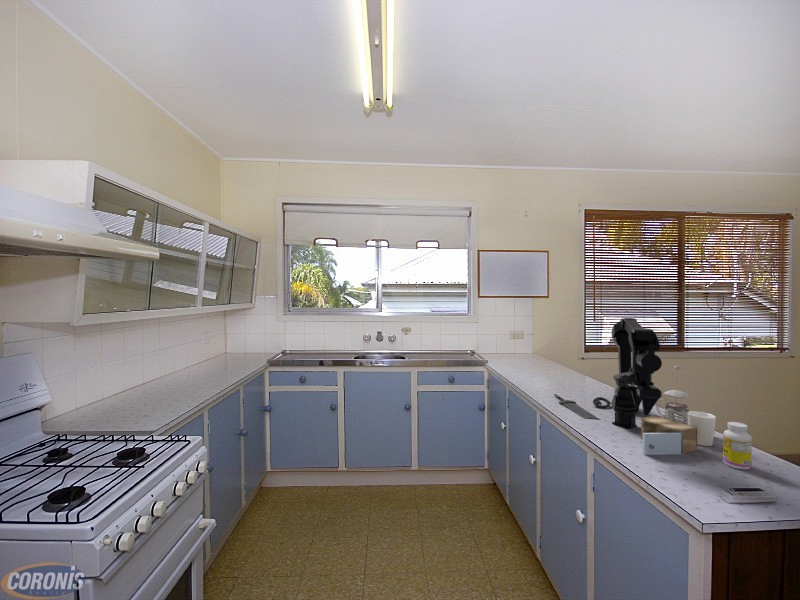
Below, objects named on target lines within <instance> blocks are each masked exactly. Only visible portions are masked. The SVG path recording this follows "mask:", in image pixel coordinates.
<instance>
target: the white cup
mask: <svg viewBox="0 0 800 600" xmlns="http://www.w3.org/2000/svg"><path fill="white" fill-rule="evenodd" d="M687 414H688V425H691V426H694V427H697V446H703V447H712V446H713V445H714V438H715V431H716V416H715V415H714V414H711V413H708V412H703V411H695V410H694V411H693V410H689V412H688V413H687Z"/></svg>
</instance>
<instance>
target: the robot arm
mask: <svg viewBox="0 0 800 600" xmlns="http://www.w3.org/2000/svg"><path fill="white" fill-rule="evenodd" d="M611 338H612V339H613V343H614V344H615V346H616V347H617V351H618V352H617V355H618V357H617V358H618V374H614V375H612V377H613V380H615V383H616V385H618V387H617V388H616V390H615V395H614V394H613V397H612V399H611V403H612V404H611V409H613V412H614V421H613V422H612V423H611V424H612V425H615V426H617V427H621V428H623V429H632V428H636V427H637V426H638V424H636V421H637V420H636V415H635V414H636V413H639V409H640V406H641V407H642V412H643V416H646V417H649V415H650V413H651V411H652V410H653V408H654V406H656V403H657V401H658V399H660V398H661V399H663V398H662V397H663V393H662V390H661V389H660V388H658V387H656V386H654V384H655V383H654V382H653V379H652V377H653V374H655V372H657V371H659V370H660V369H662V366H663V362H662V359H661V358H660V357H659V356H658V355H656V352H660V351H661V349H660V348H661V344H660V341H659V338H658V336H657V333H656V332H655V331H654V330H653V329H652V328H645V327H643V326H642V325H641V324H640V323H639V322H638V321H637V318H633V317H623V318H621V319H620V320H619V321H618V322H617V323H615V324H613V326H612V329H611ZM661 399H660V400H661ZM658 402H659V401H658ZM616 405H617V406H616ZM635 412H636V413H635Z"/></svg>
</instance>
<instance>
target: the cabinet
mask: <svg viewBox="0 0 800 600" xmlns="http://www.w3.org/2000/svg"><path fill="white" fill-rule="evenodd" d="M640 423H641V425H640V428H641V429H640V434H641V435H640V440H642V441H643V433H680V432H683V454H682V455H684V454H688V453H690V452H694V451H697V450H698V445H697V427H694V426H691V425H687V424H684V423H681V422H678V421H673V420H670V419H666V417H665V418H664V416H663V417H662V416H659V415H651V416H646V417H642V418H641V421H640Z"/></svg>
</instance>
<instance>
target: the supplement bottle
mask: <svg viewBox="0 0 800 600" xmlns="http://www.w3.org/2000/svg"><path fill="white" fill-rule="evenodd" d="M748 427H749V426H748V425H747V424H745V423H743V422H742V423H741V422H738V421H737V422H736V421H728V422H727V428H728V429H725V430H724V431H723V434H722V435H723V438H722V440H723V441H722V462H723V463H724V464H725V465H726V466H728V467H730V468H732V469H733V468H734V469H738V470H750V469H751V468H752V449H753V448H752V447H753V445H752V444H753V443H752V442H753V436H751V434H749V433H748V430H749V428H748Z"/></svg>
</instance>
